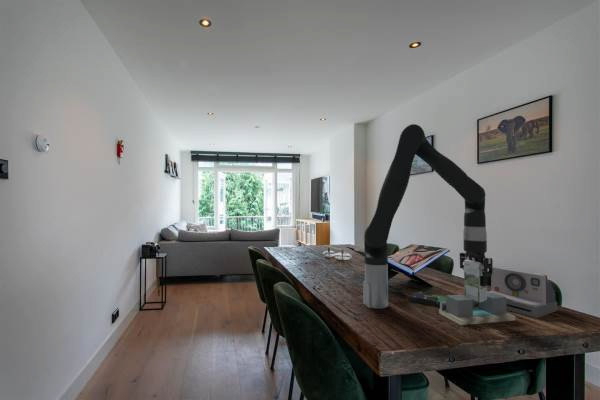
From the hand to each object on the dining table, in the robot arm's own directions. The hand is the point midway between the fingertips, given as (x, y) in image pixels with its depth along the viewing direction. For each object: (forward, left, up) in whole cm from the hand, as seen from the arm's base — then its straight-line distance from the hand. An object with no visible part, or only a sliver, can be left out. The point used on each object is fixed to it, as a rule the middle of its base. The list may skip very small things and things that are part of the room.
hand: (475, 283), depth 117 cm
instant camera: (+26, +6, -13) cm, 29 cm away
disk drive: (-5, +20, -13) cm, 24 cm away
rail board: (0, 0, -12) cm, 12 cm away
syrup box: (0, 0, -6) cm, 6 cm away
